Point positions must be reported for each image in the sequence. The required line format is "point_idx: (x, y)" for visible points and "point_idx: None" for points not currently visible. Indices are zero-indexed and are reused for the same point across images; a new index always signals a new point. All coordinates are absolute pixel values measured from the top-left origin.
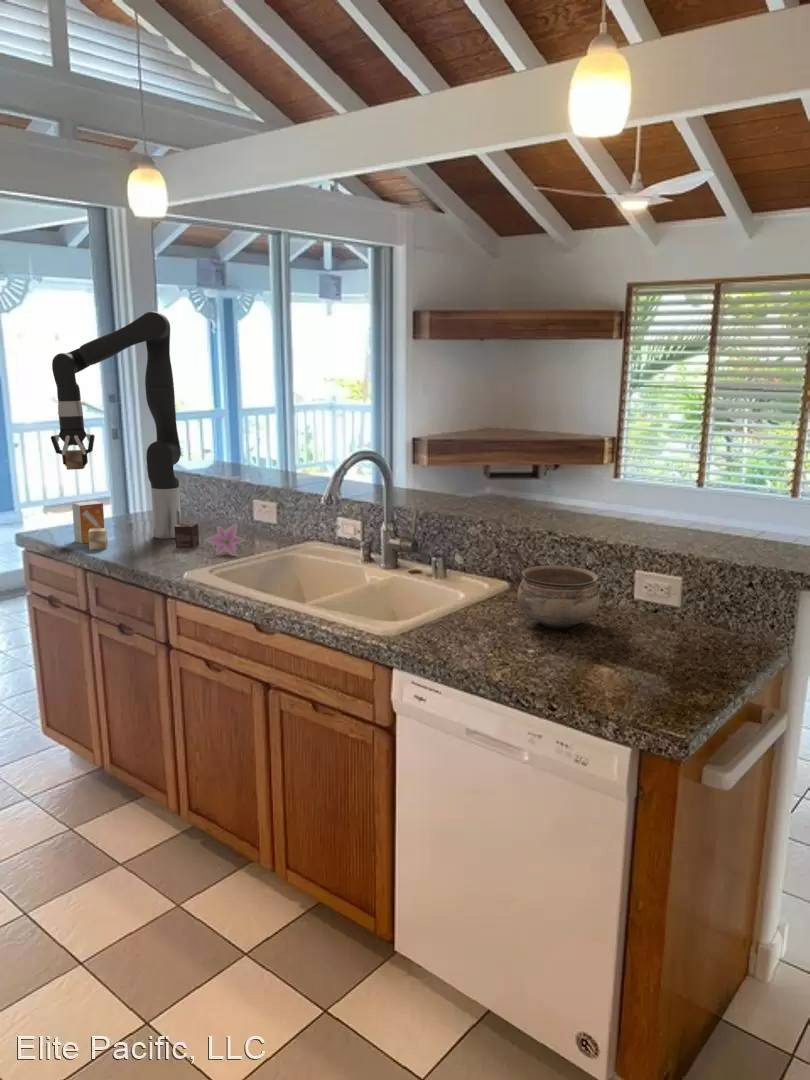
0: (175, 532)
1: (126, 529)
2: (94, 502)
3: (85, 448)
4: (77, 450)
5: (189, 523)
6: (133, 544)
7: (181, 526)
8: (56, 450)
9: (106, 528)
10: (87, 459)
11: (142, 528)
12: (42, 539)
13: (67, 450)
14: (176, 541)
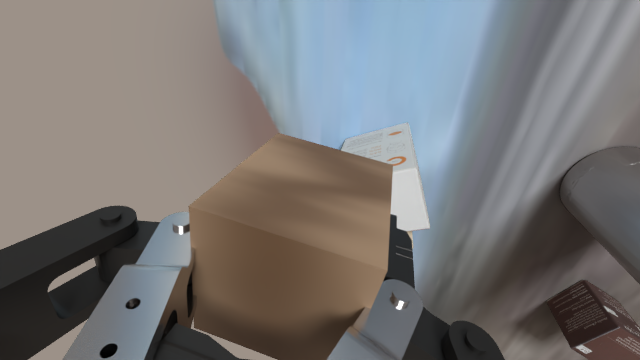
0: (564, 334)
1: (542, 6)
2: (403, 207)
3: (408, 342)
4: (307, 303)
5: (635, 344)
6: (470, 233)
7: (587, 358)
8: (103, 282)
9: (412, 247)
10: (411, 258)
11: (612, 7)
12: (268, 82)
13: (193, 235)
14: (554, 315)
